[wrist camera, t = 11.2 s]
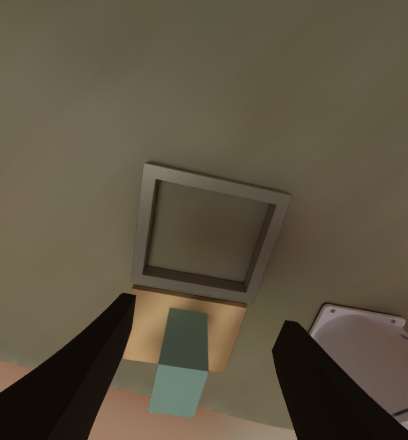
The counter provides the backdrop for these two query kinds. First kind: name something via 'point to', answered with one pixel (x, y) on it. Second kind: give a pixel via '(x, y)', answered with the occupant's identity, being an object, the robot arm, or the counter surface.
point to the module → (181, 364)
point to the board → (163, 300)
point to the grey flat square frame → (196, 282)
